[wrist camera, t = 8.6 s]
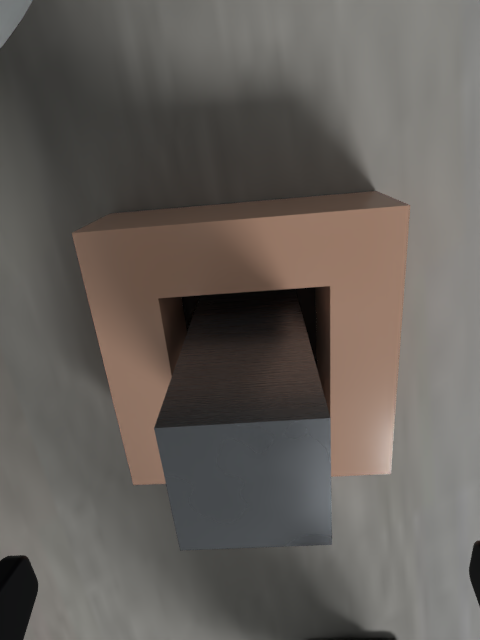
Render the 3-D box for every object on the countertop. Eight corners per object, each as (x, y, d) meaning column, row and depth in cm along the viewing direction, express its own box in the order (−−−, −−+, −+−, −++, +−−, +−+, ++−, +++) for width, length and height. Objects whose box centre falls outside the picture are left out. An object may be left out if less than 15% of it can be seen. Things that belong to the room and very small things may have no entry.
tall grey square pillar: (296, 358, 20) (331, 544, 11) (213, 364, 20) (180, 550, 11) (292, 279, 18) (330, 418, 9) (202, 286, 19) (153, 427, 10)
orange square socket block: (367, 415, 21) (390, 473, 17) (153, 426, 22) (133, 485, 18) (376, 191, 17) (410, 205, 13) (109, 213, 18) (71, 232, 14)
